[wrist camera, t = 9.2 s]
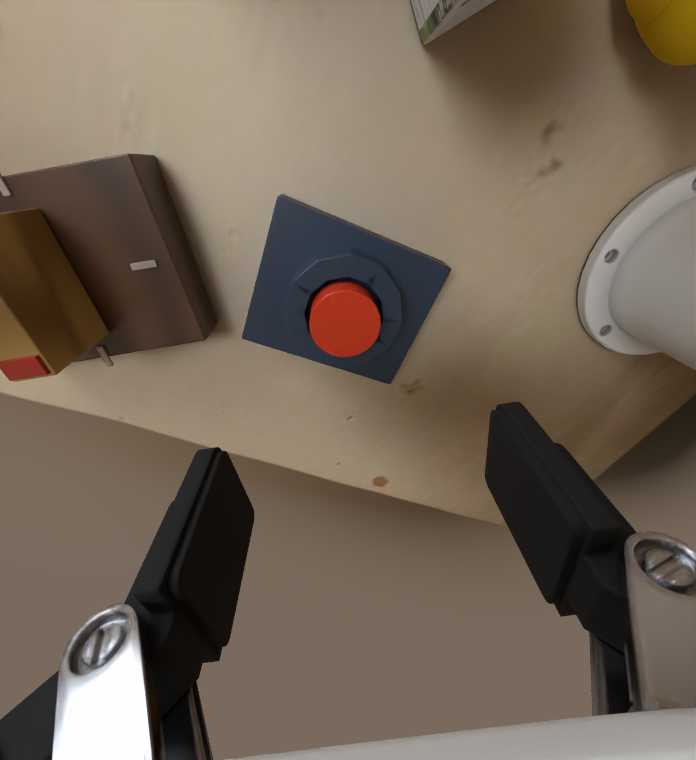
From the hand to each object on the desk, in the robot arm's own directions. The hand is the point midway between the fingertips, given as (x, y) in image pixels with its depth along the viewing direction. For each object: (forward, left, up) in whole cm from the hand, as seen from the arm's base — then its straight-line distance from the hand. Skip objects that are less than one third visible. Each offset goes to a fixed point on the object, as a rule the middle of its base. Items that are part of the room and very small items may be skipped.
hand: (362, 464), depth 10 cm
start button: (0, 0, -12) cm, 12 cm away
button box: (0, 0, -16) cm, 16 cm away
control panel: (+16, +1, -16) cm, 23 cm away
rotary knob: (+16, +1, -13) cm, 20 cm away
